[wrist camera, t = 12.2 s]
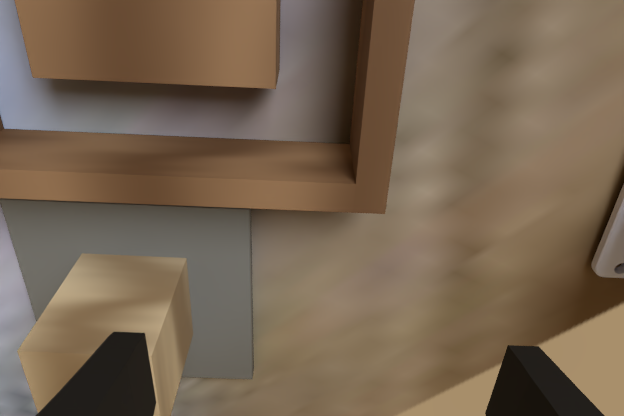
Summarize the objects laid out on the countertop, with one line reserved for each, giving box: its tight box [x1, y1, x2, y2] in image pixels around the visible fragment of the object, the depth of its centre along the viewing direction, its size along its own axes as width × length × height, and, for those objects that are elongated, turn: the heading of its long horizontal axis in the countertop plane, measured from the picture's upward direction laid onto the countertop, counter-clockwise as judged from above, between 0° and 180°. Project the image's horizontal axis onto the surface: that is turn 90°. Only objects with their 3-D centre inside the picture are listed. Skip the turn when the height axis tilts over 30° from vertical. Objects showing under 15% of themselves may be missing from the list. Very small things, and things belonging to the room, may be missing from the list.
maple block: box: [17, 253, 193, 416], centre depth 19 cm, size 4×4×5 cm
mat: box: [0, 198, 254, 379], centre depth 21 cm, size 9×9×1 cm
